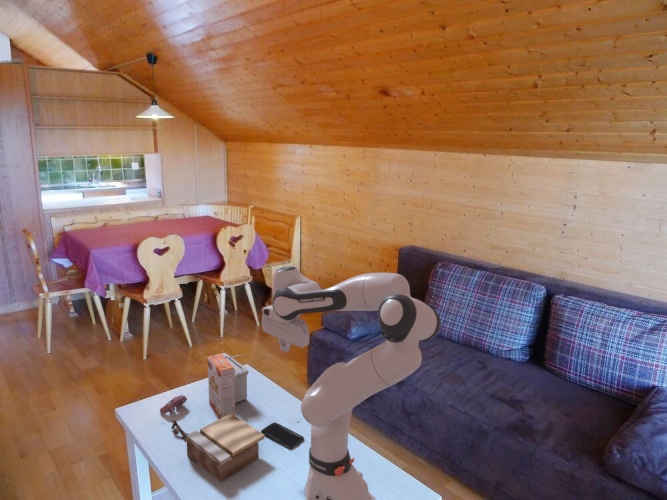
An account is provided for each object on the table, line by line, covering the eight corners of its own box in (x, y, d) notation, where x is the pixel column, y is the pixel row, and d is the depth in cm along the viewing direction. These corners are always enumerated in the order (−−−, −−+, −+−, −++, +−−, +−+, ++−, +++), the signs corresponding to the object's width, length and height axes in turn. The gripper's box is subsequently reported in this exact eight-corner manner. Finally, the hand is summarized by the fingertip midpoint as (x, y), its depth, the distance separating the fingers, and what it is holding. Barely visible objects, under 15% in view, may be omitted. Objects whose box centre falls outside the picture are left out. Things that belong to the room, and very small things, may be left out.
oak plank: (264, 438, 163) (264, 434, 163) (233, 456, 153) (233, 452, 153) (231, 417, 174) (231, 413, 174) (200, 432, 165) (200, 429, 164)
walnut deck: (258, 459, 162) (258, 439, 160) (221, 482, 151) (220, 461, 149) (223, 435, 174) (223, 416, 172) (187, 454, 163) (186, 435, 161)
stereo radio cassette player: (208, 385, 207) (206, 341, 202) (225, 379, 212) (224, 337, 208) (231, 406, 192) (231, 360, 187) (250, 400, 197) (249, 354, 192)
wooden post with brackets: (172, 425, 177) (175, 417, 175) (185, 441, 174) (188, 433, 172) (168, 427, 176) (170, 419, 174) (181, 443, 172) (183, 435, 170)
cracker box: (208, 403, 193) (206, 355, 188) (222, 399, 196) (221, 352, 191) (220, 421, 182) (219, 370, 177) (236, 417, 185) (235, 367, 180)
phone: (274, 421, 182) (305, 437, 173) (274, 424, 182) (305, 440, 173) (259, 431, 175) (290, 448, 167) (259, 434, 176) (290, 451, 167)
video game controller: (165, 420, 184) (170, 408, 181) (157, 412, 186) (162, 399, 182) (185, 408, 192) (190, 396, 189) (178, 400, 194) (183, 388, 191)
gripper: (314, 319, 160) (313, 357, 163) (272, 303, 172) (272, 339, 176) (300, 324, 155) (299, 363, 158) (258, 307, 168) (258, 344, 171)
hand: (284, 350), depth 167 cm, fingers closed
